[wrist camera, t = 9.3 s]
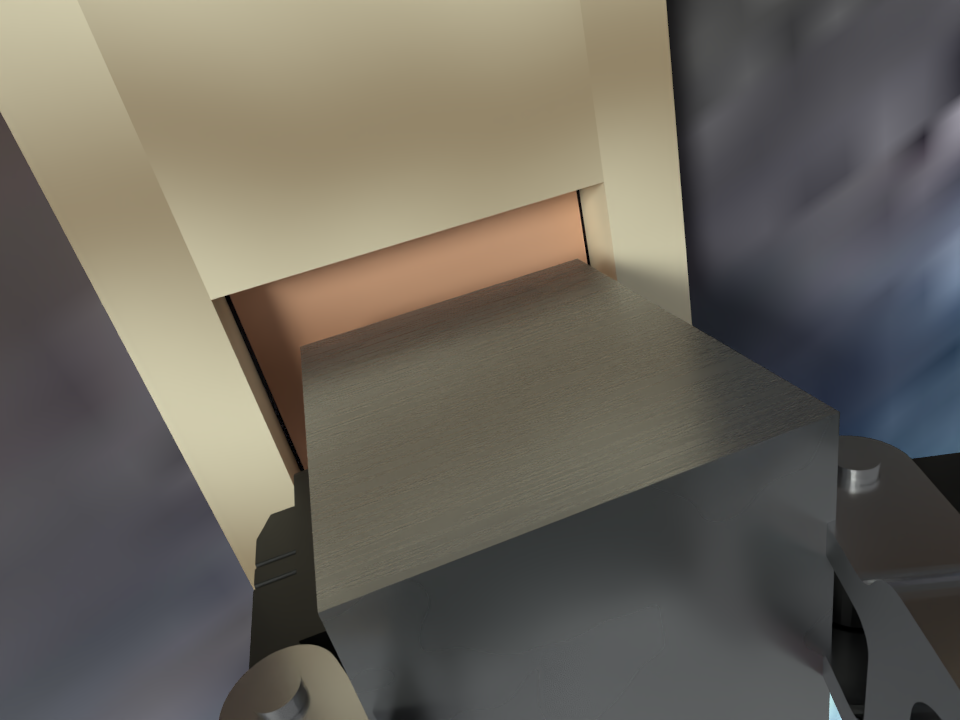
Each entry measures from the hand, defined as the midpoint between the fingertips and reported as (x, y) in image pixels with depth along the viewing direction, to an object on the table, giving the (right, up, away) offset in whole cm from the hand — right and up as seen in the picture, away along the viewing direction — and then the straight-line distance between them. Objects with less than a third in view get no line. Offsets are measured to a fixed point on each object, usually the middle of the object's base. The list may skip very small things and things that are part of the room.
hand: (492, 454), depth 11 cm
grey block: (0, 0, +1) cm, 1 cm away
